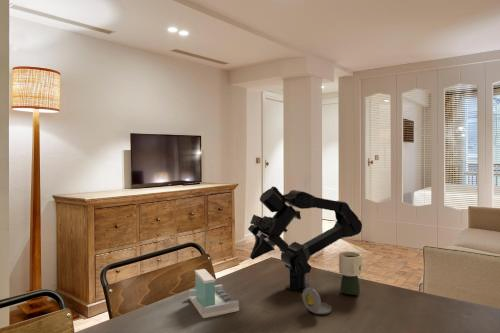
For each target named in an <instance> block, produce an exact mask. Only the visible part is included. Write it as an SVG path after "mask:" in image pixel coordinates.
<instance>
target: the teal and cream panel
mask: <svg viewBox="0 0 500 333" xmlns="http://www.w3.org/2000/svg"><path fill="white" fill-rule="evenodd" d="M194 275H195V289H196V297H197V299H198V300H199V301H200V303H201V304H202V305H203V307H206V306H211V305H215V285H216V284H215V282H216V279H215V278H214V276H212V275H211V273H209V272H208V270H206V269H205V268H201V269H194Z"/></svg>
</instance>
